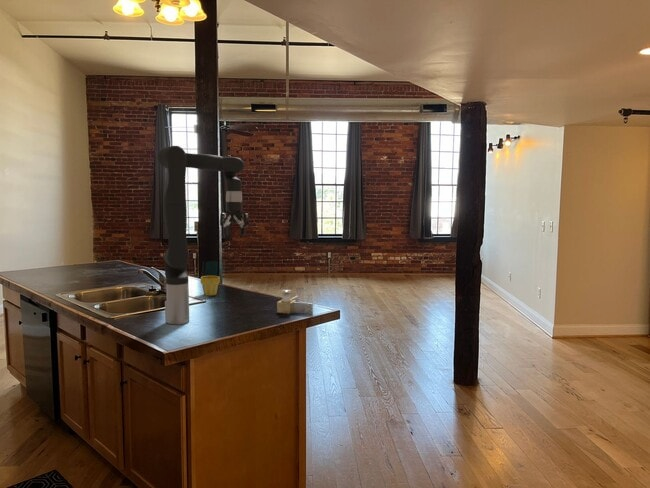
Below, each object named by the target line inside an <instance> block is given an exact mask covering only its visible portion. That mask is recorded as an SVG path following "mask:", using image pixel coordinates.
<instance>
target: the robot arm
mask: <svg viewBox="0 0 650 488" xmlns="http://www.w3.org/2000/svg"><path fill="white" fill-rule="evenodd" d="M156 158H157V162H158V163H159V164H160V166H161V167H163V168H165V169H168V170H167V171H168V181H167V182H168V183H167V187H166V189H165V192H164V194H163V195H164V197H163V217H164V221H165V225H166V230H167V236H168V248H167V249H165V251H164V252H165V253H164V255H163V257H164V277H165V284H166V285H165V288H166V300H165V301H164V314H165V315H164V318H165V320H164V321H165V323H166V324H170V325H184V324H188V323H189V322H190V294H189V293H190V291H189V275H188V271H187V270H188V268H187V265H188V263H189V261H190V253H189V247H188V239H187V228H188V227H187V226H188V223H187V222H188V221H187V220H188V219H187V218H188V217H187V215H188V214H187V213H188V211H187V195H186V194H187V193H186V192H187V188H186V174H187V173H186V172H187V168H189V169H199V170H204V171H211V172H212V171H213V172H223V174H224V179H225V182H226V184H225V185H226V187H225V190H226V193H225V211H226V213H225V212H222V213H221V212H220V218H219V225H220V226H221V227H223V234H224V236H229V234H230V233H229V226H230V224H231V223H236V224H238V225H239V226H240V236H242V237H244V236H245V235H246V228H247V227H249V226H250V220H249V218H250V217H249V213H243V193H242V190H243V189H242V185H243V184H242V180H241V179H240V178H238V176H237V174H240V173H242V172H243V170H244V169H245V162H244V161H243V160H242V159H241V158H240V157H237V156H236V157H235V156H234V157H233V156H221V155H215V154H207V153H206V154H205V153H187V152H186V151H185V150H184V149H183V147H181V146H179V145H171V146H165V147H162V148H161V149H160V150H159V151H158V153H157V156H156Z"/></svg>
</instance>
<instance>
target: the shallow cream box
mask: <svg viewBox="0 0 650 488" xmlns="http://www.w3.org/2000/svg"><path fill="white" fill-rule="evenodd" d="M313 308H314V303H311V302H302V301H299V295H295V296H294V297H292V298H291V297H290V303H285V302H283V299H280V300H279V301H277V302H276V312H277V314H286V313H287V315H290V313H291V314H293V313H294V314H303V313H304V315H313V314H314V309H313Z"/></svg>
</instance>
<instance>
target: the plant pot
mask: <svg viewBox="0 0 650 488" xmlns="http://www.w3.org/2000/svg"><path fill="white" fill-rule="evenodd" d="M220 280H221V278H220V276H218V275H203V276H201V277H200V284H201V286H202V290H203V295H204V296H215V295H217V292H218V289H219V284H220V283H221V281H220Z"/></svg>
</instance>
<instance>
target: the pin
mask: <svg viewBox="0 0 650 488" xmlns="http://www.w3.org/2000/svg"><path fill="white" fill-rule="evenodd" d="M280 293H281V294H282V300H283V302H285V303H290V299H291V294H292V290H291V289H281V292H280Z"/></svg>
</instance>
